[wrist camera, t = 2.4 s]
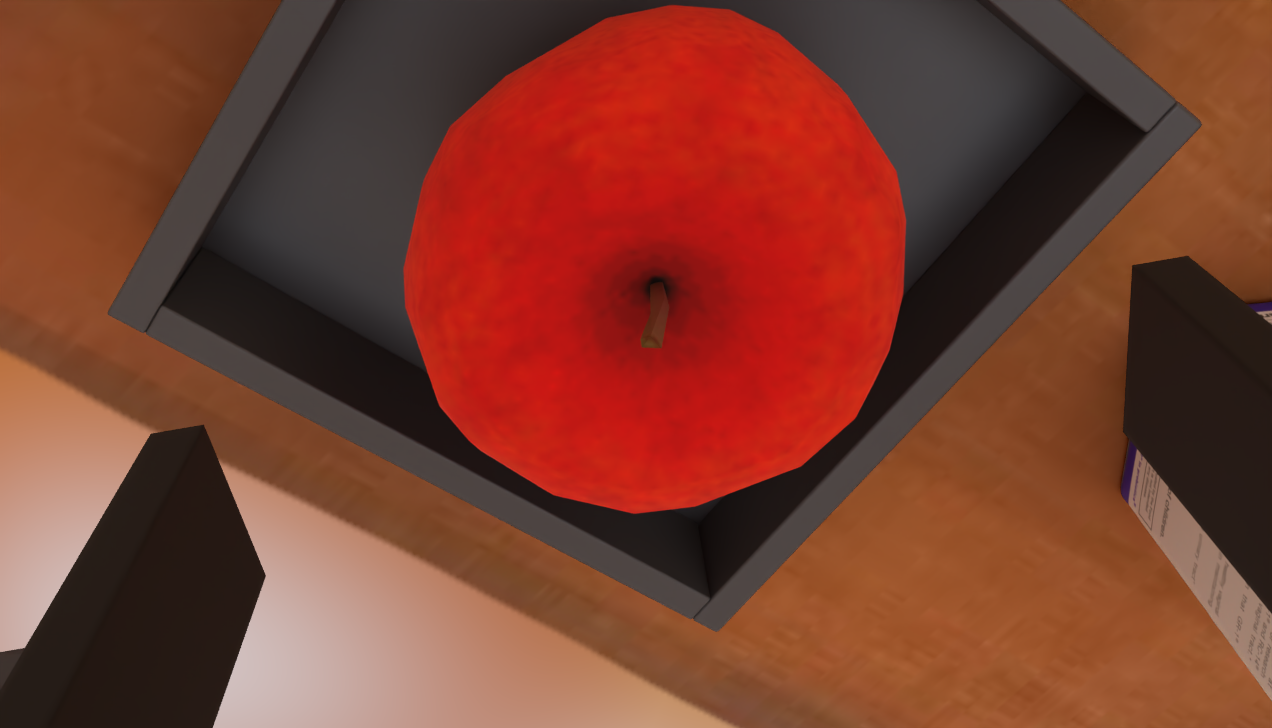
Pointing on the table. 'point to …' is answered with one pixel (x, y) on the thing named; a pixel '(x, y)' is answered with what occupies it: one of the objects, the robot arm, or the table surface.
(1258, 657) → the supplement box
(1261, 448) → the robot arm
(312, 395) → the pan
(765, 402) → the apple
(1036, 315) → the table surface
